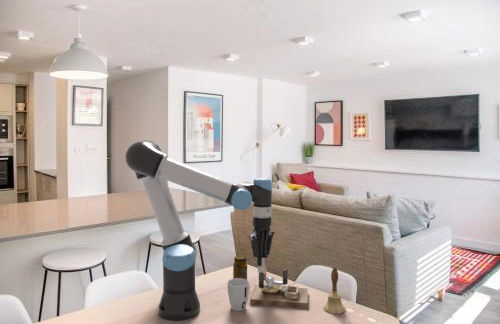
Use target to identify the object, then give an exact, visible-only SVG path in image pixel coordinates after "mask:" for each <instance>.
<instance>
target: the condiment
mask: <svg viewBox="0 0 500 324" xmlns="http://www.w3.org/2000/svg"><path fill="white" fill-rule="evenodd" d="M233 259H234V261H233V262H234V263H233V266H232V268H233V272H232V275H233V276H232V277H233V278H232V279H235V278H242V279H246V280H248V263H247V257H246V256H243V255H236V256H235V257H234V258H233ZM250 288H251V286H250V285H249V289H250Z"/></svg>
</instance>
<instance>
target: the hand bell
mask: <svg viewBox="0 0 500 324" xmlns="http://www.w3.org/2000/svg"><path fill="white" fill-rule="evenodd" d="M330 275H331V282H332V287H331V288H332V289H331V290H332V291H331V293H329V294H328V298H327V301H326V303H325V304H324V305H323V308H322V309H323V310H324V312H326V313H329V314H333V315H340V314H344V313H345V312H346V306H344V305H343V303H342V298H341V294H339V293H338V287H337V285H338V281H339V272H338V269H337V267H335V266H334V267H332V270H331V274H330Z"/></svg>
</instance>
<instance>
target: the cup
mask: <svg viewBox="0 0 500 324" xmlns="http://www.w3.org/2000/svg"><path fill="white" fill-rule="evenodd" d="M249 286H250V281H249V280H248V279H247V280H246V279H242V278H235V279H233V278H231V279H229V280H228V281H227V294H228V300H229V304H230V308H231V310H232V311H235V312H242V311H244V310H245V309H246V306H247V303H248V296H249V291H250V290H249V289H250V288H249Z"/></svg>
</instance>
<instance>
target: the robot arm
mask: <svg viewBox="0 0 500 324" xmlns="http://www.w3.org/2000/svg"><path fill="white" fill-rule="evenodd" d="M125 162H126V165H127V167H129V169H130V170H131V171H133V172H134V173H135V176H136V179H137V181H140V182H142V183H143V186H144V189H145V191H146V194H147V197H148V199H149V200H148V201H149V203H150V206H151V208H152V210H153V214H154V217H155V219H156V222H157V225H158V228H159V230H160V233H161V236H162V241H161V242H160V244H161V247H162V251H163V253H162V258H161V259H162V291H163V292H162V294H161V298H160V301H159V304H158V316H159V317H161V318H163V319H165V320H169V321H183V320H184V321H185V320H188V319H191V318H194V317H195V316H197V315H198V314H199V313H200V312H201V302H200V300H199V297H198V293H197V291H196V262H197V261H196V260H197V254H198V253H197V248H196V245H195V243H194V242H193V241H192V238H191V236H190V233H189V232H188V231H186V230H184V227H183V224H182V221H181V219H180V216H179V213H178V210H177V207H176V205H175V202H174V199H173V197H172V193H171V191H170V187H169V184H168V182H171V183H174V184H176V185H178V186H181V187H183V188H186V189H189V190H192V191H194V192H196V193H199V194H202V195H205V196H207V197H210V198H213V199H216V200H217V201H220V202H222V203H225V204H227V205H229V206H232V207H233V208H235V209H236V210H238V211H246V210H247V209H249V208H250V207H251V205H252V209H253V210H252V215H253V217H252V226H253V233H252V234H249V235H248V238H249V240H250V245H251V250H252V254H253V257H254V258H256V260H257V261H256V265H257V273H258V274H259V273H260V272H262V273H264V274H265V264H266V263H267V262H266V261H267V259H268V257H269V255H270V254H271V248H272V243H273V238H274V235H275V231H273V230H271V226H272V217H271V216H272V201H273V199H272V198H273V197H272V195H273V184H272V183H273V182H272V179H270V178H267V177H266V178H265V177H259V178H254V179H253V180H252V181H253V182H252V183H235V182H229V181H226V180H224V179H222V178H219V177H216V176H213V175H211V174H208V173H206V172H204V171H201V170H199V169H196V168H194V167H192V166H189V165H186V164H184V163H182V162H179V161H177V160H174V159H172V158H169V157H168V155H167V154H166V153H165V152H162V149H161V148H160V146H159V145H158V143H155V142H154V141H151V140H142V141H135V142H134V143H133V144H131V145H130V146H129V147H128V148H127V150H126V151H125ZM167 181H168V182H167Z"/></svg>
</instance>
